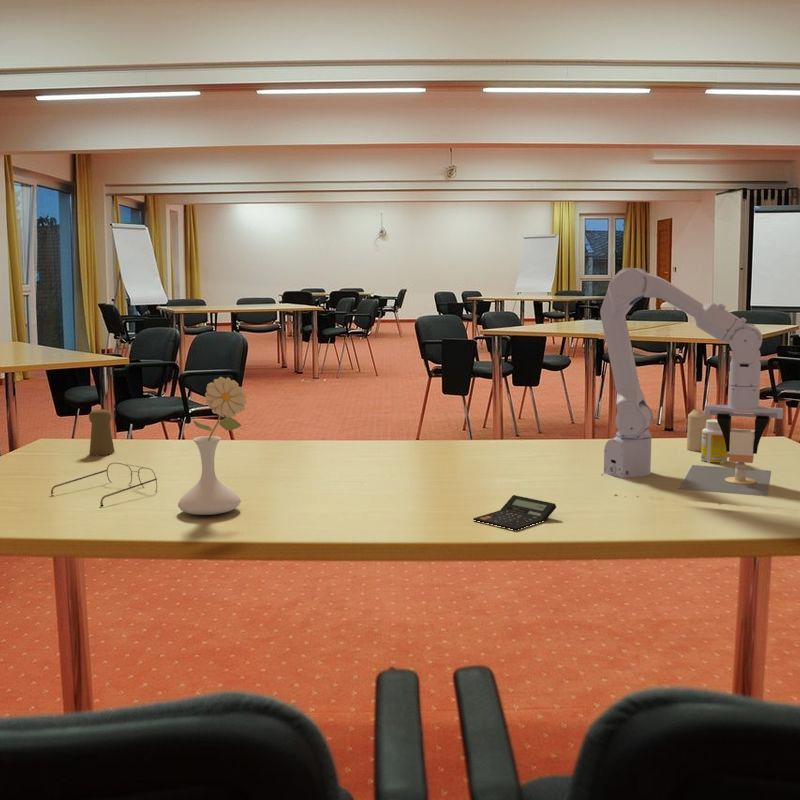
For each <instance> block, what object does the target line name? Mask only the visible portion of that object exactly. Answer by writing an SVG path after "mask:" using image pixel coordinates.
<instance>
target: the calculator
mask: <svg viewBox="0 0 800 800" xmlns="http://www.w3.org/2000/svg"><path fill="white" fill-rule="evenodd" d="M556 509H557V505H556V503H555V502H554V503H553V502H549V501H545V500H539V499H534V498H529V497H525V496H519V495H515V494H513V495H511V497H510V498H509V499H508V501H506V503H505V504H504V505H503V507H501V509H499V510H496V511H493V512H489V513H486V514H483V515H480V516H477V517H473V520H476V521H480V522H484V523H489V524H493V525H497V526H501V527H505V528H510V529H513V530H518V529H521V528H524V527H526V526H530V525H532V524H536V523H539V522H542V521H545V522H546V521H547V520H548V518H549V517H550V516H551V515H552V513H554V511H555V510H556ZM473 520H472V521H473Z"/></svg>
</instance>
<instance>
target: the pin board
mask: <svg viewBox="0 0 800 800" xmlns="http://www.w3.org/2000/svg"><path fill="white" fill-rule="evenodd" d="M746 464H747V463H743V462H736V464H735V467H725V466H711V465H698V464H692V465H691V466H690V469H689V471H688V472H687V474H686V475H685V478H684V479H683V481H682V483H681V484H680V486H679V488H678V489H679V490H685V491H686V490H687V491H701V492H709V493H711V492H712V493H723V494H733V495H746V496H758V497H760V496H761V497H768V494H769V489H770V488H769V487H770V481H771V480H770V479H771V474H772V470H767V469H766V470H765V469H753V468H747V465H746Z"/></svg>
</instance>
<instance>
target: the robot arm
mask: <svg viewBox="0 0 800 800" xmlns="http://www.w3.org/2000/svg"><path fill="white" fill-rule="evenodd" d="M642 298H650V299H651V298H653V299H654V298H655V299H661V300H663V301H665V302H667V303H669V304H670V305H671V306H673V307H675V308H677V309H679V310H680V311H682V312H684V313H685V314H688V315H690V316H691V317H693V318H694V320H695V324H696V327H697V328H698V329H700V330H701V331H704V332H705V333H706V334H708V335H710V336H711V337H712V338H715V339H716V340H718V341H719V342H721V343H723V344H729V348H730V349H731V361H730V362H729V381H728V404H705V405H704V410H705V415H711V416H717V417H716V419H717V421H718V424H719V426H720V428H721V431H722V433H723V436H724V440H725V445H726V452H727V453H729V447H730V431H731V429H732V427H731V426H732V417H743V418H745V417H746V418H754V419H755V420H754V430H755V436H754V446H753V454H754V455H757V454H758V447H759V445H760V441H761V438H762V436H763V434H764V431H765V430H766V428H767V426H768V424H769V422H770V419H776V420H777V419H778V420H783V419H784V418H783V417H784V415H783V414H784V408H783V407H770V406H760V391H761V388H760V387H761V368H762V367H761V365H762V363H761V361H760V360H761V354H762V353H761V350H760V349H761V347H762V343H763V334H762V332H761V331H760V329H759V328H758V327H756V326H755V324H754V323H753V324H752V323H746V322H747V319H746V318H744V317H741V318H740V317H739V316H737V315H734V314H733V313H731V312H730V311H728V310H726V305H724V304H723V303H719V304H716V303H715V302H711V303H710V302H709V303H706V304H704V303H702V302H701V301H699V300H697V298H696V299H695V298H694V297H692V296H691V295H690V294H689V293H687V292H685V291H684V290H682V289H680V288H679V287H677V286H676V285H674V284H673V283H671V282H670V281H668V280H666V279H665V278H662V277H660V276H658V275H656V274H653V273H648V271H646V270H645V269H643V268H639V267H635V268H634V267H624V268H622V269H620V270H619V271H618V272H617V273H616V274H615V275H614V276H613V277H612V278H611V279H610V281H609V283H608V288H607V291H606V294H605V296H604V298H603V302H602V305H601V306H600V311H599V315H600V318H601V319H600V320H601V323H602V330H603V334H604V338H605V344H606V347H607V352H608V357H609V362H610V368H611V372H612V377H613V381H614V382H613V383H614V386H615V390H616V401H615V405H616V416H615V421H614V424H615V427H616V429H617V431H616V432H615V433H616V436H615V437H614V438H613V437H612V438H611V439H609V440H607V441H606V442H605V445H604V449H603V450H604V451H603V453H604V454H603V473H601V474H600V475H601V476H602V477H603V476H604V475H605V474H606V475H609V476H614V477H617V478H621V479H629V478H633V477H634V478H635V477H646V476H650V475H651V471H652V470H651V468H652V467H651V466H652V463H651V462H652V437H653V436H652V435H653V434H652V433H651V432H650V430H649V427H650V426H651V424H652V422H653V420H654V419H653V418H654V415H653V411H652V409H651V407H650V406H649V405H648V404H647V402H646V398H645V394H644V393H643V391H642V389H641V384H640V380H639V375H638V371H637V365H636V361H635V357H634V352H633V347H632V341H631V337H630V333H629V326H628V322H627V318H626V317H627V314H628V313H629V312H630V310H631V308H632V307H633V306H634V305H635V304H636V302H638V301H640V300H641V299H642Z"/></svg>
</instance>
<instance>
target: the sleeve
mask: <svg viewBox="0 0 800 800" xmlns="http://www.w3.org/2000/svg"><path fill="white" fill-rule="evenodd" d="M754 438H755V429H743V428H731V431H730V447H729V452H728V453H729V454H728V462H730V463H731V462H733V463H738V462H743V463H745V464H753V462H754V457H755V456H754V455H755V454H753V446H754Z"/></svg>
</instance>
